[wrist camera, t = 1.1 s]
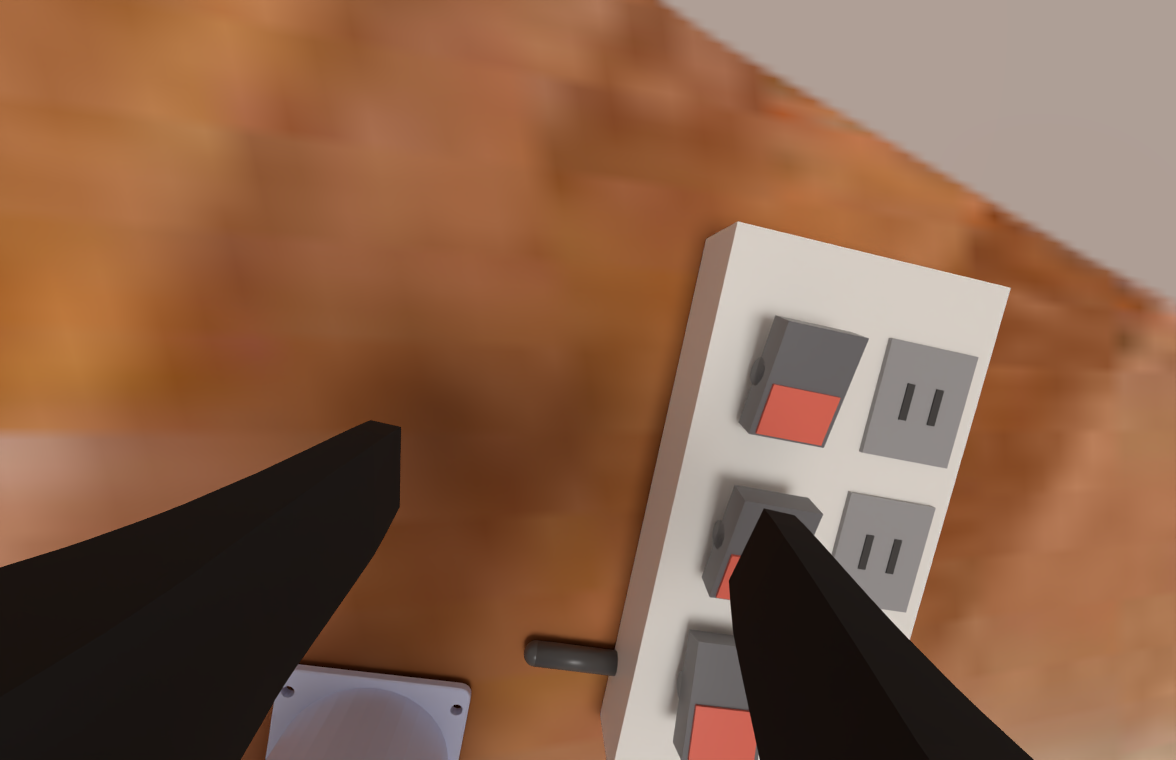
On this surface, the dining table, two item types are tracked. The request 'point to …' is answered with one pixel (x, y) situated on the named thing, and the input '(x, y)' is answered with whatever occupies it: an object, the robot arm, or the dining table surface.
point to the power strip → (793, 451)
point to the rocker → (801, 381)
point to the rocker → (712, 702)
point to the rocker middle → (748, 530)
